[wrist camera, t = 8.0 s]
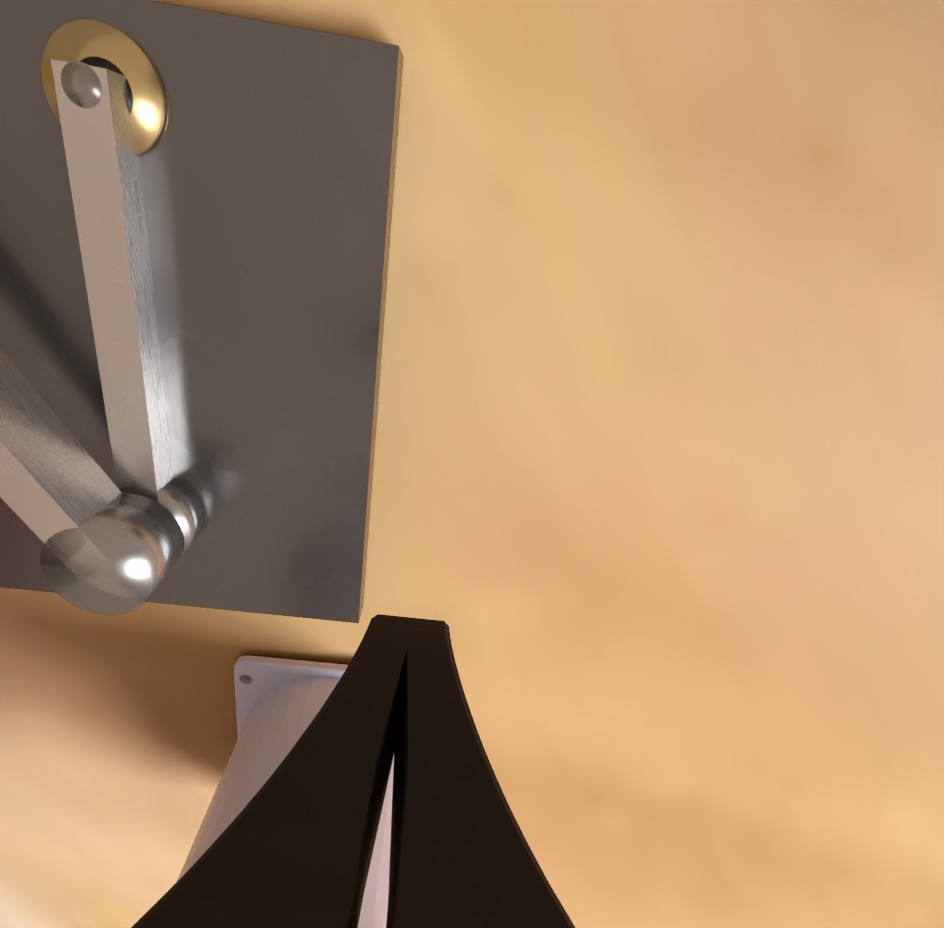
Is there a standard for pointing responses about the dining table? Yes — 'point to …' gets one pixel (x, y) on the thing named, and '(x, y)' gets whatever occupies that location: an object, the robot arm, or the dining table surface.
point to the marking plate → (203, 281)
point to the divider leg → (79, 508)
